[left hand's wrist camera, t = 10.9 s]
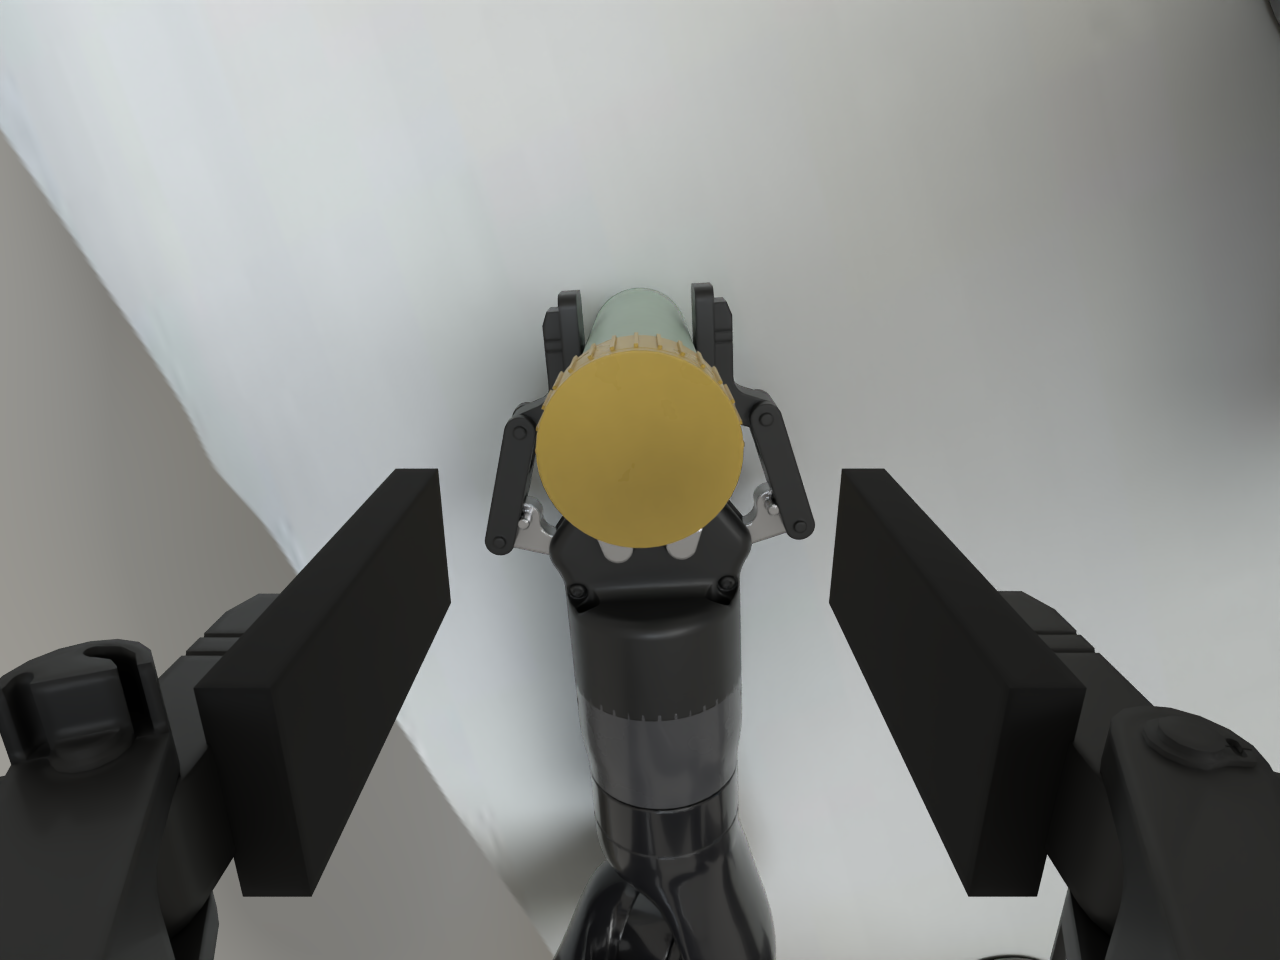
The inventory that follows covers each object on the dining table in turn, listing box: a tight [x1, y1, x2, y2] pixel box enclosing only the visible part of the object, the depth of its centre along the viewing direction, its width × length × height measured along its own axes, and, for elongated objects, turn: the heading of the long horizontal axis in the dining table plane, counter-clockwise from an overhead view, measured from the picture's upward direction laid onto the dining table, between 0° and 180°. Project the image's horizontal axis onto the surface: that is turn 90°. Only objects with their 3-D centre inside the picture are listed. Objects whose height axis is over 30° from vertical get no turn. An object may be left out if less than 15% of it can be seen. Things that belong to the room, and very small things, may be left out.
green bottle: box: [583, 288, 697, 353], centre depth 27 cm, size 4×4×17 cm
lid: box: [535, 332, 744, 548], centre depth 20 cm, size 5×5×2 cm
